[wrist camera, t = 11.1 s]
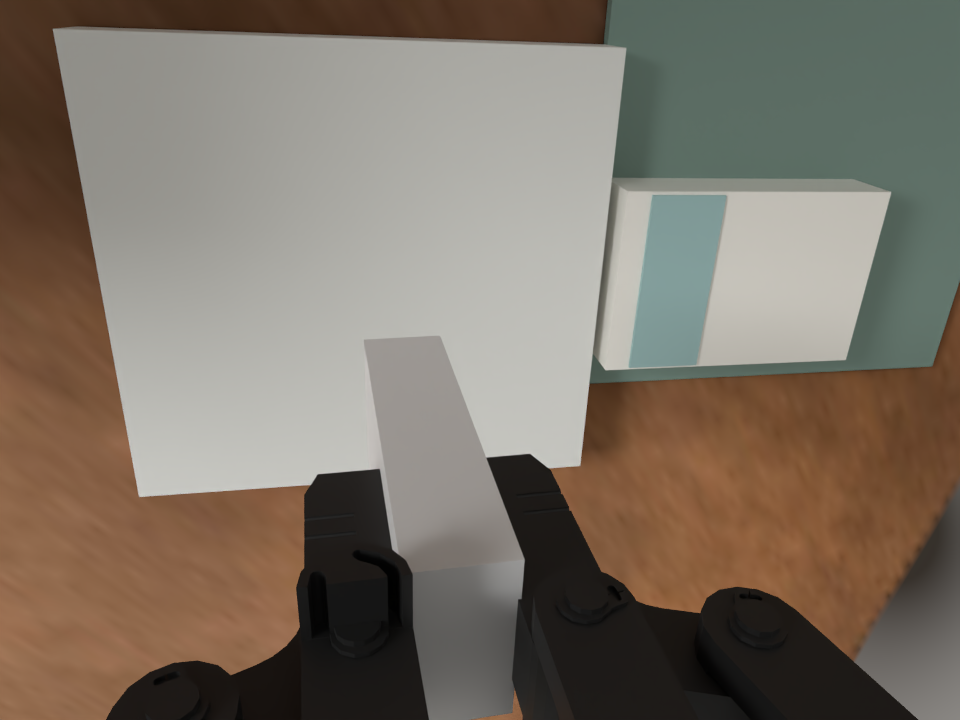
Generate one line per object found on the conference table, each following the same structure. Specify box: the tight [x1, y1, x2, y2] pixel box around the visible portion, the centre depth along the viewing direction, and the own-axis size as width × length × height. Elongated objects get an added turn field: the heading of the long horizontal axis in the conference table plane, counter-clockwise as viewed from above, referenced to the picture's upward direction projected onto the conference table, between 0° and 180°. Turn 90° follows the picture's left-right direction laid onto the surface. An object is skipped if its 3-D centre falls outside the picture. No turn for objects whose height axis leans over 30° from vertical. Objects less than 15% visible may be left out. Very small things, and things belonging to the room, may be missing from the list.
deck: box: [53, 26, 626, 497], centre depth 24 cm, size 14×15×2 cm
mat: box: [589, 0, 960, 384], centre depth 26 cm, size 14×15×1 cm
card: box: [593, 178, 891, 370], centre depth 26 cm, size 6×9×2 cm, turn 88°
